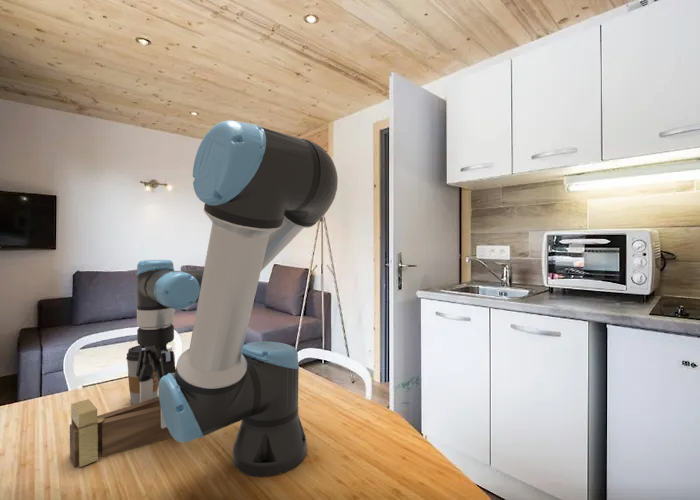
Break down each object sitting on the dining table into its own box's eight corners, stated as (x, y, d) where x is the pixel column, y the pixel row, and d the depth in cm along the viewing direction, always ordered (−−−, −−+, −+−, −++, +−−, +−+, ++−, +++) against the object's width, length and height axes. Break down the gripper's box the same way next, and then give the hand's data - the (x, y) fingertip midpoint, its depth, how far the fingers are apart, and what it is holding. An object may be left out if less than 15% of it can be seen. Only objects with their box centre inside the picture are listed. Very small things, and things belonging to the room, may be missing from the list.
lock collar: (97, 460, 70) (97, 409, 70) (79, 467, 68) (78, 414, 67) (89, 447, 74) (88, 399, 74) (71, 453, 72) (71, 403, 72)
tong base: (184, 424, 84) (184, 394, 84) (74, 467, 68) (74, 430, 68) (176, 418, 87) (176, 389, 87) (70, 458, 71) (69, 422, 71)
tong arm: (188, 432, 81) (188, 403, 81) (102, 456, 72) (102, 423, 71) (187, 428, 82) (187, 399, 82) (102, 451, 73) (102, 419, 73)
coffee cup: (145, 409, 91) (145, 353, 91) (119, 406, 93) (118, 351, 93) (168, 396, 100) (167, 344, 99) (143, 393, 101) (142, 342, 101)
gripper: (195, 331, 76) (196, 428, 76) (153, 315, 92) (154, 395, 92) (159, 338, 70) (160, 442, 71) (120, 320, 86) (121, 405, 87)
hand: (156, 416), depth 81 cm, fingers open, 12 cm apart
